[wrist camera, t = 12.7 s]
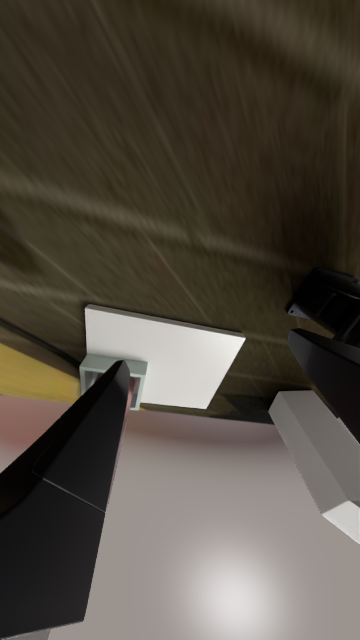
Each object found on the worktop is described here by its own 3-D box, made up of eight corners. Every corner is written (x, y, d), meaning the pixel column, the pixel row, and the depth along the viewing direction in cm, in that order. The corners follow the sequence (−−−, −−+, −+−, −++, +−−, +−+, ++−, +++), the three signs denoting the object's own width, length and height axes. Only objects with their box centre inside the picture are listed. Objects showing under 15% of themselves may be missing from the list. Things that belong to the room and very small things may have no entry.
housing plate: (242, 333, 25) (253, 349, 21) (204, 403, 33) (208, 422, 30) (89, 303, 21) (74, 318, 18) (91, 390, 30) (82, 410, 27)
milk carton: (267, 410, 36) (347, 566, 20) (278, 390, 32) (386, 560, 16) (298, 409, 36) (401, 561, 20) (312, 389, 33) (452, 554, 16)
